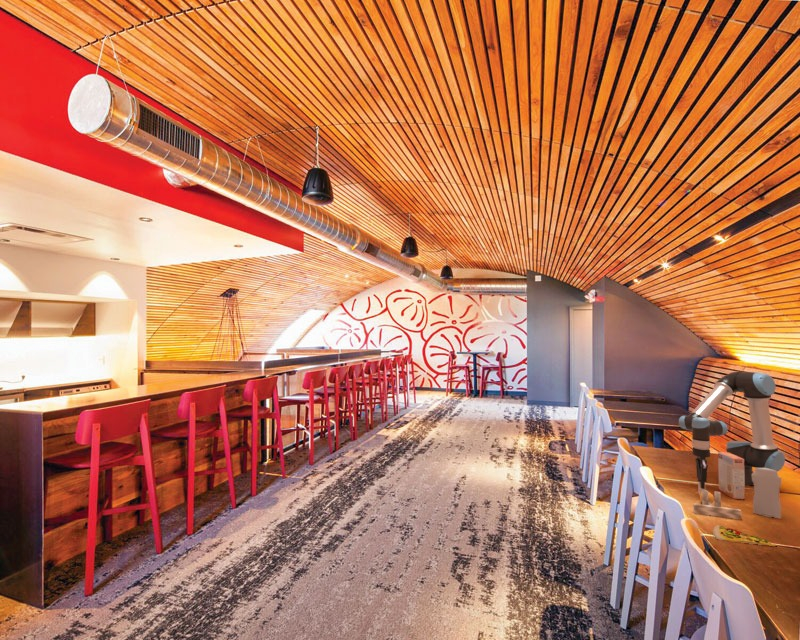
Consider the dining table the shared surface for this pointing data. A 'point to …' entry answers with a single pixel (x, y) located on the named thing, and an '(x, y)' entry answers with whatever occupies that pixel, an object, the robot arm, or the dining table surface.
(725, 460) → the cracker box
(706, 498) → the pin
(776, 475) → the tall pale column
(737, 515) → the back wall
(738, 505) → the dining table surface
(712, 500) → the ball
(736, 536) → the pizza slice
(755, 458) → the robot arm
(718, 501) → the pin
